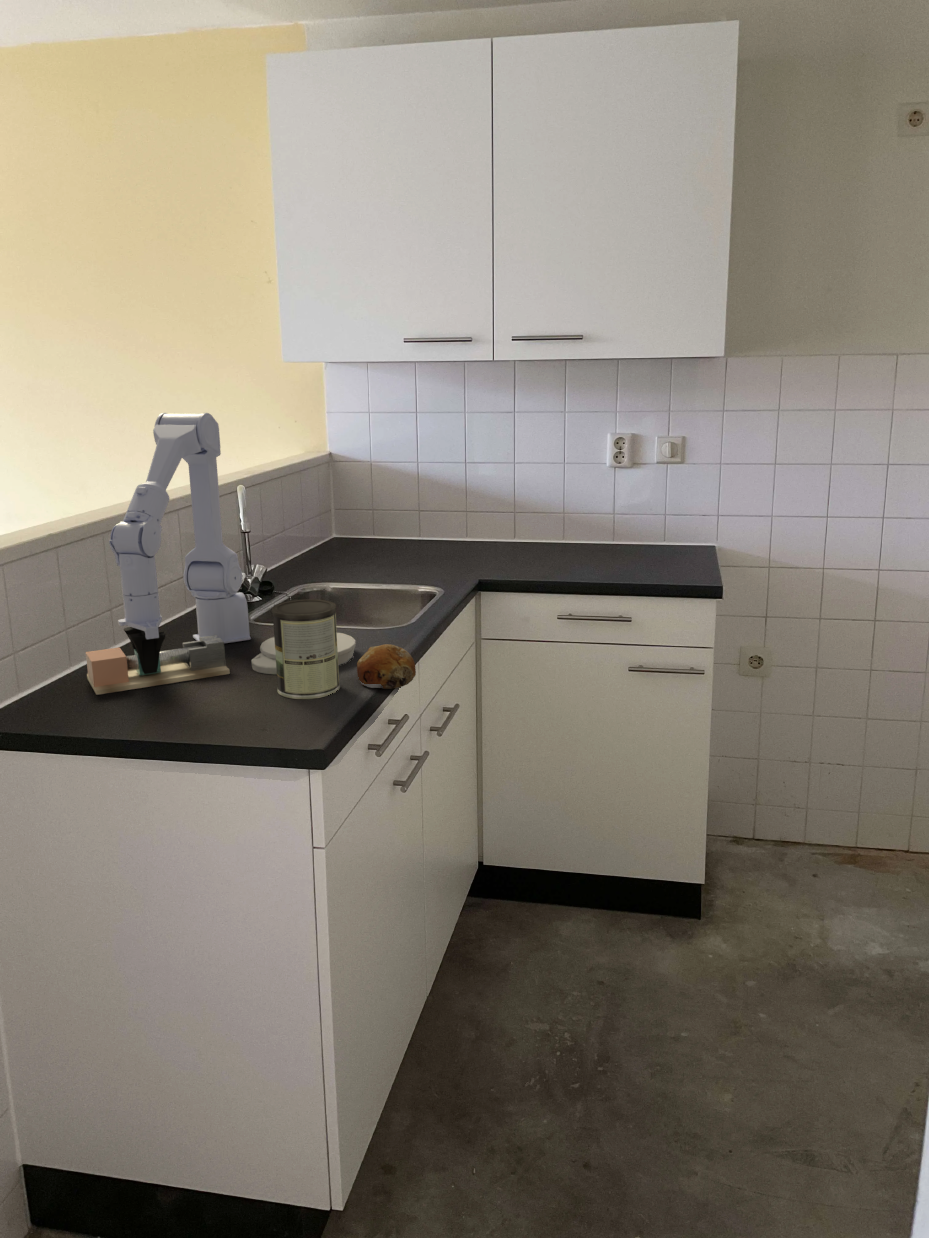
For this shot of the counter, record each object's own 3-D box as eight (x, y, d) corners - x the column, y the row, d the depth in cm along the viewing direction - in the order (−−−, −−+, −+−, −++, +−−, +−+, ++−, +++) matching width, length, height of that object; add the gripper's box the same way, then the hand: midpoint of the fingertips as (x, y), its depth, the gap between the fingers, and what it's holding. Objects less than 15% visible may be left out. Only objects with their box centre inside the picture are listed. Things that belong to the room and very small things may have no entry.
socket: (122, 671, 170) (119, 647, 169) (128, 681, 165) (126, 656, 164) (88, 676, 168) (85, 651, 167) (94, 687, 162) (91, 661, 161)
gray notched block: (217, 658, 177) (216, 634, 176) (225, 665, 173) (223, 641, 172) (184, 663, 175) (182, 639, 173) (191, 671, 170) (189, 646, 169)
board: (214, 659, 180) (214, 655, 179) (229, 673, 171) (229, 669, 171) (87, 678, 169) (86, 674, 169) (96, 694, 161) (95, 690, 161)
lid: (228, 664, 177) (227, 648, 177) (314, 640, 192) (314, 626, 191) (289, 683, 166) (288, 666, 166) (376, 657, 181) (375, 641, 180)
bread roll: (416, 694, 171) (415, 648, 172) (415, 687, 160) (414, 638, 162) (359, 695, 170) (358, 649, 172) (354, 688, 160) (353, 640, 162)
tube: (200, 661, 175) (198, 639, 174) (204, 665, 172) (203, 644, 171) (112, 674, 168) (109, 652, 167) (115, 679, 165) (112, 657, 164)
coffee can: (263, 691, 162) (258, 607, 158) (311, 676, 169) (306, 596, 166) (306, 704, 155) (301, 617, 152) (353, 687, 163) (349, 604, 159)
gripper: (108, 587, 170) (116, 662, 173) (123, 604, 158) (131, 685, 161) (150, 582, 173) (157, 656, 177) (168, 598, 161) (175, 678, 164)
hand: (148, 669), depth 169 cm, fingers closed on tube, 3 cm apart
